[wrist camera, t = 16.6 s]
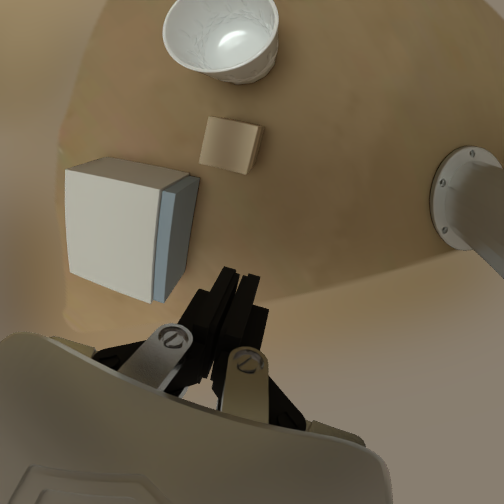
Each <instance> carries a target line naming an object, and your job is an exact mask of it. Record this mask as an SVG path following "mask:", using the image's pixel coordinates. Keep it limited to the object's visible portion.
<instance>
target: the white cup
mask: <svg viewBox="0 0 504 504" xmlns="http://www.w3.org/2000/svg"><path fill="white" fill-rule="evenodd" d="M278 26H279V17H278V11H277V8H276V5H275V3H274V1H273V0H177V1H176V2H175V3H174V4H173V6H172V7H171V9H170V10H169V12H168V14H167V16H166V18H165V21H164V25H163V41H164V44H165V47H166V49H167V51H168V53H169V54H170V55H171V57H172V58H173V59H174V60H175V61H176V62H178V63H179V64H181V65H182V66H184V67H186V68H188V69H191V70H194V71H197V72H199V73H202V74H205V75H207V76H209V77H212V78H215V79H218V80H221V81H225V82H230V83H233V84H236V85H238V84H248V83H253V82H255V81H257V80H259V79H261V78H263V77H265V76H266V75H267V74H268V72H269V71H270V70H271V69H272V67H273V66H274V65H275V60H276V55H277V51H278Z"/></svg>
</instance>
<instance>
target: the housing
mask: <svg viewBox="0 0 504 504" xmlns="http://www.w3.org/2000/svg"><path fill="white" fill-rule="evenodd" d="M189 175H190V173H187V172H182V171H178V170H173V169H169V168H164V167H159V166H154V165H149V164H144V163H139V162H133V161H128V160H123V159H117V158H111V157H104V158H101V159H97V160H94V161H91V162H87V163H84V164H81V165H78V166H74V167H71V168H68V169H65V219H66V236H67V248H68V258H69V267H70V272H71V273H73V274H75V275H78V276H80V277H82V278H85V279H87V280H90V281H92V282H95V283H97V284H99V285H102V286H104V287H107V288H110V289H112V290H115V291H117V292H120V293H122V294H125V295H128V296H131V297H133V298H136V299H139V300H141V301H144V302H147V303H150V304H151V303H152V301H153V297H154V276H155V260H156V248H157V236H158V226H159V217H160V208H161V200H162V192H163V190H165V189H167V188H168V187H170V186H172V185H173V184H175V183H177V182H179V181H181V180H182V179H184V178H186V177H188V176H189Z"/></svg>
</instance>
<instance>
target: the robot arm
mask: <svg viewBox="0 0 504 504" xmlns="http://www.w3.org/2000/svg"><path fill="white" fill-rule="evenodd" d="M440 181H441V182H440ZM430 212H431V217H432V222H433V224H434V227H435V229H436V231H437V232H438V234H439V236H440V237H441V238H442V239H443V240H444V241H445V242H446V243H447V244H449V245H450V246H451V247H453V248H455V249H457V250H463V251H467V250H474V251H476V252H477V253H478V254H479V255H480V256H481V257H482V258H483V259H484V260H485V261H486V262H487V263H488V264H489V265H490V266H491V267H492V268H493V269H494V270H495V271H496V272H497V273H498V274H499V275H501V277H503V279H504V169H502V166H501V164H500V163H499V161H498V160H497V159H496V157H495V156H494V155H492V154H491V153H490V152H489V151H487V150H485V149H483V148H480V147H476V146H464V147H461V148H458V149H456V150H454V151H453V152H452V153H450V154H449V155H448V156H447V157H446V158H445V159H444V161H443V162H442V163H441V165H440V167H439V168H438V170H437V172H436V175H435V177H434V180H433V184H432V188H431V194H430ZM239 276H240V274H237V273H236V270H235V269H232V268H228V267H225V266H224V267H223V269H222V271H221V273H220V275H219V276H218V278H217V280H216V282H215V284H214V285H213V287H212V289H211V291H210V292H209V291H205V290H202V289H198V291H197V292H196V294H195V296H194V297H193V299H192V300H191V302H190V304H189V305H188V307H187V309H186V310H185V312H184V314H183V315H182V317H181V319H180V320H179V322H178V323H177V324H173V323H171V324H165V325H162V326H160V327H159V328H158V329H156V331H155V332H154V333H153V334H152V335H151V336H150V337H149V338H148V339H147V340H145V341H140V342H136V343H131V344H126V345H121V346H116V347H111V348H107V349H103V350H100V351H96V350H95V348H94V347H90V346H86V345H83V344H80V343H76V342H73V341H70V340H67V339H64V338H60V337H55V336H53V337H46V336H43V335H40V334H36V333H30V332H15V333H13V334H10V335H9V336H7V337H6V338H4V339H3V340H2V341H1V342H0V504H393V495H392V485H391V479H390V474H389V470H388V468H387V465H386V463H385V462H384V460H383V459H382V458H381V457H380V456H379V455H377V454H376V453H375V452H373V451H371V450H370V449H368V448H366V446H365V443H364V441H363V440H362V439H361V438H360V437H359V436H357V435H355V434H352V433H349V432H346V431H343V430H340V429H337V428H334V427H331V426H328V425H326V424H323V423H320V422H317V421H315V420H313V421H312V422H310V421H308V420H305V418H304V417H303V415H302V413H301V412H300V411H299V410H298V409H297V408H296V407H295V406H294V405H293V403H291V401H290V400H289V399H288V398H287V396H286V395H285V394H284V393H283V392H282V391H281V390H280V389H279V387H278V386H277V385H276V384H275V382H274V381H273V380H272V379H271V378H270V377H269V375H268V360H267V358H266V357H265V355H264V354H263V353H262V352H261V351H260V348H261V343H262V339H263V335H264V330H265V326H266V321H267V317H268V312H269V309H266V308H263V307H259V306H256V305H253V302H254V298H255V295H256V291H257V287H258V284H259V280H260V277H259V276H256V275H252V274H248V276H244V275H243V277H242V279H241V282H240V284H239V287H238V289H237V284H238V280H239ZM236 289H237V291H236ZM235 293H236V294H235ZM213 361H214V363H213ZM212 364H213V369H212V374H211V379H210V380H212V381H213V385H212V390H213V391H214V393H215V394H216V396H217V397H218V400H217V407H216V410H214V409H211V408H208V407H204V406H201V405H198V404H195V403H192V402H190V401H187V400H184V399H182V397H183V396H184V394H185V393H186V391H187V389H188V386H191V385H194V384H197V383H198V384H200V382H201V379H202V377H203V378H207V377H208V374H209V371H210V369H211V366H212Z"/></svg>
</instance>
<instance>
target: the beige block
mask: <svg viewBox="0 0 504 504" xmlns="http://www.w3.org/2000/svg"><path fill="white" fill-rule="evenodd" d="M264 128H265V127H264V126H260V125H256V124H252V123H247V122H243V121H238V120H234V119H229V118H222V117H212V116H209V118H208V122H207V127H206V131H205V136H204V141H203V145H202V150H201V155H200V160H199V164H204V165H208V166H212V167H217V168H221V169H225V170H229V171H233V172H237V173H241V174H245V175H246V174H247V173H248V172H249V171H250V170H251V169H252V167H253V166H254V165H255V163H256V159H257V155H258V151H259V147H260V144H261V140H262V136H263V132H264Z"/></svg>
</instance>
